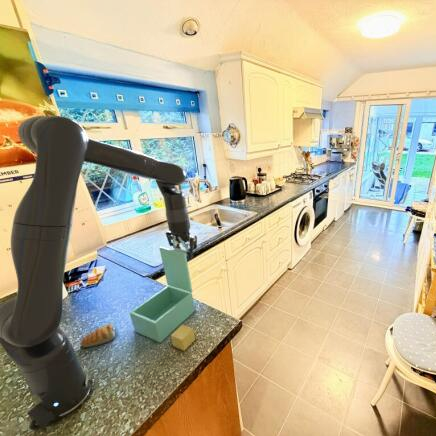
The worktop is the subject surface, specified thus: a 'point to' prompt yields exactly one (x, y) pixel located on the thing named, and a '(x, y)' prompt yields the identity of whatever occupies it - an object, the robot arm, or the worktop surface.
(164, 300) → the cool box
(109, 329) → the pastry
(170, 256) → the lid
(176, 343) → the block
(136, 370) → the worktop surface
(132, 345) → the worktop surface
